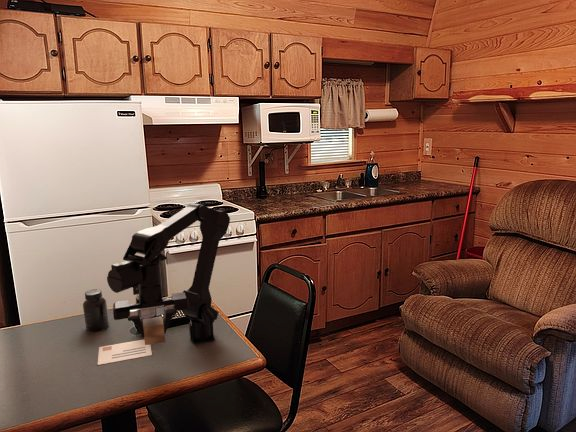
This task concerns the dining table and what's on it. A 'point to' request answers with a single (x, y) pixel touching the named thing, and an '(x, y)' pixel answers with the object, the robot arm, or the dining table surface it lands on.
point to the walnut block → (153, 330)
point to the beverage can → (146, 311)
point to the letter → (123, 351)
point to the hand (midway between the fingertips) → (154, 335)
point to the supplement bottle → (95, 311)
